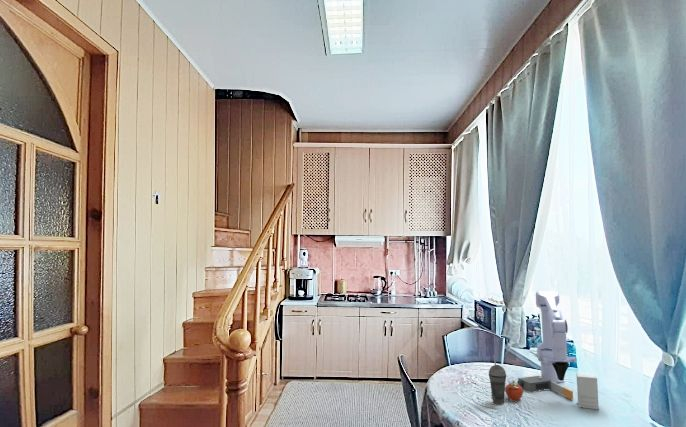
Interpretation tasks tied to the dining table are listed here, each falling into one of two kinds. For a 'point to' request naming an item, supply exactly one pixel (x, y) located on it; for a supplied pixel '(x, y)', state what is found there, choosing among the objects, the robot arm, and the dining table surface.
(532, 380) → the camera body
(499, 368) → the beverage cup
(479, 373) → the dining table surface
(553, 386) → the side door
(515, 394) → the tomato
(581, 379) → the supplement box
